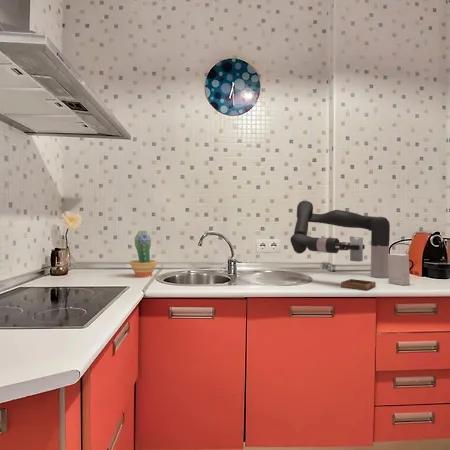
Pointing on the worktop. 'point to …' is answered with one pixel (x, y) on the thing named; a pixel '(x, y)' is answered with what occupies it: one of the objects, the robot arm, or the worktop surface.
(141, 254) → the potted cactus
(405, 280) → the skincare box
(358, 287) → the tray
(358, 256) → the grey upright block
